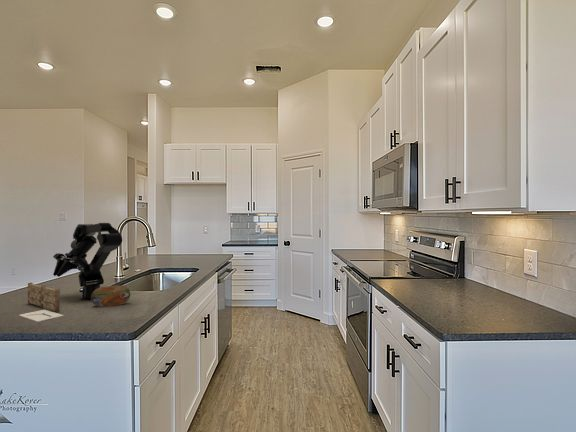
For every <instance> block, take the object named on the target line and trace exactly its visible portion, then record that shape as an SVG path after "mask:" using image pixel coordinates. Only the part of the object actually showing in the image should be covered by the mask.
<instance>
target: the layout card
mask: <svg viewBox="0 0 576 432" xmlns="http://www.w3.org/2000/svg"><path fill="white" fill-rule="evenodd" d="M18 316H20V317H22V318H25V319H28V320H30V321H34V322H37V323H38V322H39V323H40V322H43V321H47V320H51V319H57V318H60V317H64V314H61V313H59V312H55V311H51V310H48V309H41V310H36V311H31V312H27V313H22V314H21V313H20V314H19V315H18Z"/></svg>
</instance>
